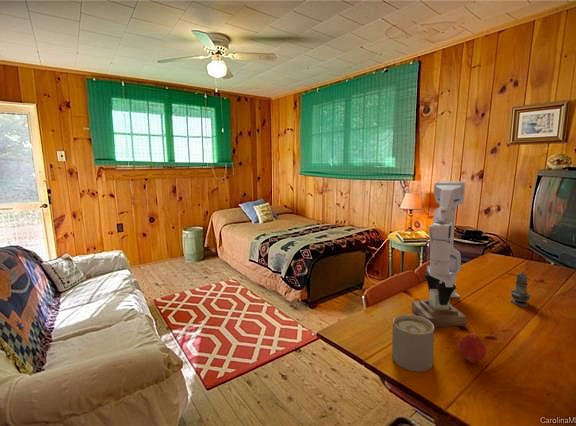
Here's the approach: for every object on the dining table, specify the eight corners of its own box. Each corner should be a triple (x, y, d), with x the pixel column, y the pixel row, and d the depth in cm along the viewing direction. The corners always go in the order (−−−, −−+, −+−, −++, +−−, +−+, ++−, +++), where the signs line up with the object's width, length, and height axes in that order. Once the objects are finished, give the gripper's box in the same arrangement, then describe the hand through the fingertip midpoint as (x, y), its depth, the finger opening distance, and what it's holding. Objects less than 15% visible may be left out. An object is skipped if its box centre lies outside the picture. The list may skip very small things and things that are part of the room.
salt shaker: (534, 307, 104) (537, 274, 102) (514, 306, 105) (517, 273, 103) (524, 299, 109) (527, 268, 108) (506, 299, 110) (508, 268, 109)
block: (428, 305, 101) (429, 289, 100) (442, 305, 101) (443, 288, 100) (434, 312, 96) (435, 294, 96) (448, 312, 96) (449, 294, 95)
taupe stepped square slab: (411, 309, 105) (412, 298, 104) (445, 308, 105) (446, 297, 104) (428, 327, 93) (428, 314, 92) (466, 325, 93) (466, 313, 92)
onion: (453, 355, 79) (454, 327, 78) (473, 353, 79) (475, 326, 78) (468, 370, 73) (470, 340, 72) (490, 368, 74) (492, 338, 72)
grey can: (418, 377, 71) (419, 338, 70) (384, 356, 79) (384, 321, 78) (447, 356, 79) (449, 321, 77) (413, 339, 87) (414, 307, 85)
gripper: (464, 267, 89) (462, 309, 91) (442, 253, 103) (440, 290, 105) (440, 267, 89) (438, 309, 91) (421, 253, 103) (420, 290, 105)
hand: (438, 299), depth 98 cm, fingers open, 7 cm apart
